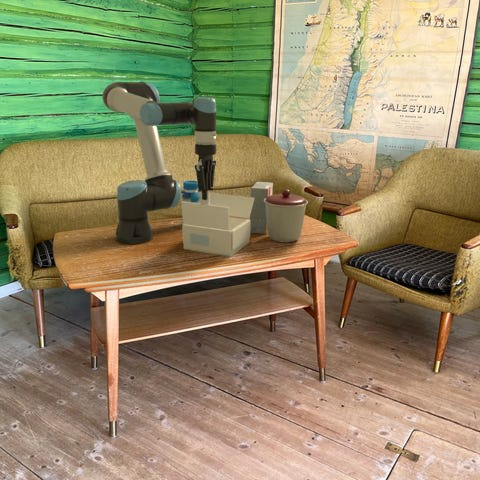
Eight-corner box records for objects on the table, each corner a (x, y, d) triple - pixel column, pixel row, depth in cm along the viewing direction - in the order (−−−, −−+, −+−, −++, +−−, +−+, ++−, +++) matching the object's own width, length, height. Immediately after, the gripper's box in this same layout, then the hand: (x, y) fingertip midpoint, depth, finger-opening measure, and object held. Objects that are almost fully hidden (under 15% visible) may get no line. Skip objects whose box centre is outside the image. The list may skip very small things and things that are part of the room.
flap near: (183, 223, 185) (183, 224, 184) (182, 201, 181) (181, 201, 181) (229, 230, 178) (228, 230, 177) (228, 207, 174) (228, 207, 174)
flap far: (211, 192, 203) (212, 193, 204) (206, 212, 201) (206, 212, 201) (254, 197, 196) (254, 198, 197) (248, 218, 194) (249, 218, 194)
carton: (181, 249, 189) (181, 224, 186) (203, 236, 204) (203, 213, 201) (232, 257, 181) (232, 231, 178) (250, 243, 196) (251, 219, 193)
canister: (273, 247, 192) (276, 195, 185) (255, 234, 208) (256, 186, 201) (313, 243, 198) (317, 192, 192) (293, 230, 214) (295, 183, 208)
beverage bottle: (200, 228, 216) (200, 183, 210) (181, 228, 215) (180, 183, 209) (201, 222, 224) (200, 180, 218) (182, 222, 223) (181, 180, 217)
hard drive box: (266, 234, 208) (267, 189, 202) (248, 233, 210) (249, 188, 204) (271, 224, 223) (273, 182, 217) (255, 223, 224) (256, 181, 218)
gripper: (206, 145, 164) (207, 213, 172) (222, 141, 176) (222, 204, 183) (187, 144, 167) (188, 210, 175) (204, 140, 178) (204, 202, 186)
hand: (206, 207), depth 179 cm, fingers closed
